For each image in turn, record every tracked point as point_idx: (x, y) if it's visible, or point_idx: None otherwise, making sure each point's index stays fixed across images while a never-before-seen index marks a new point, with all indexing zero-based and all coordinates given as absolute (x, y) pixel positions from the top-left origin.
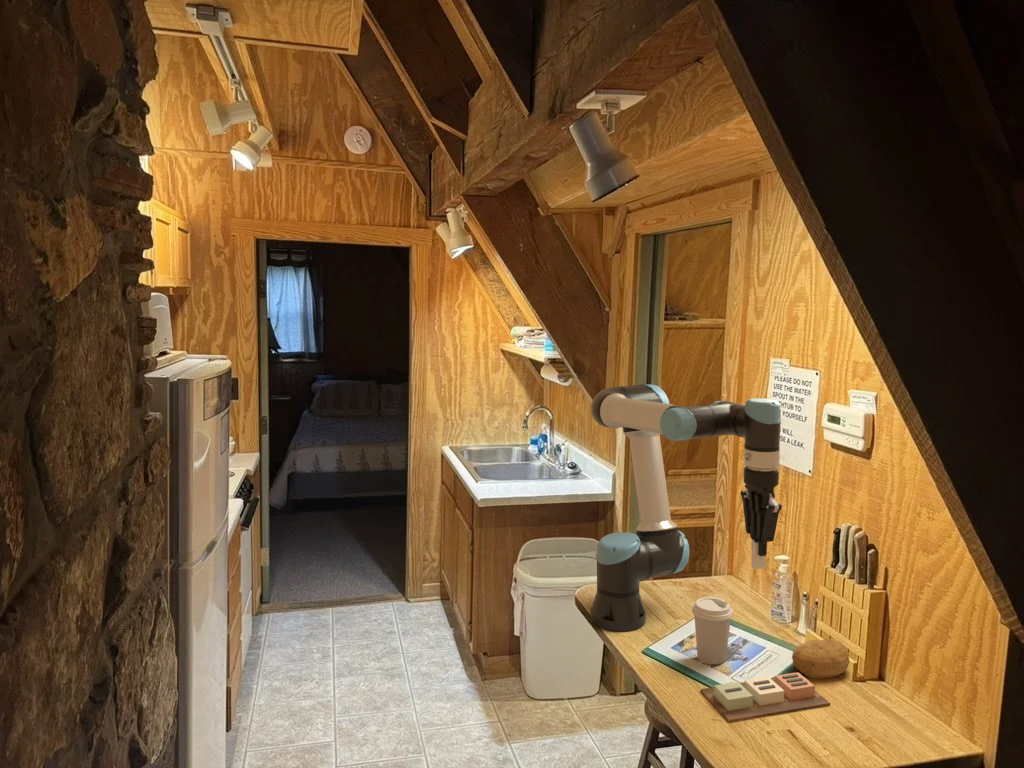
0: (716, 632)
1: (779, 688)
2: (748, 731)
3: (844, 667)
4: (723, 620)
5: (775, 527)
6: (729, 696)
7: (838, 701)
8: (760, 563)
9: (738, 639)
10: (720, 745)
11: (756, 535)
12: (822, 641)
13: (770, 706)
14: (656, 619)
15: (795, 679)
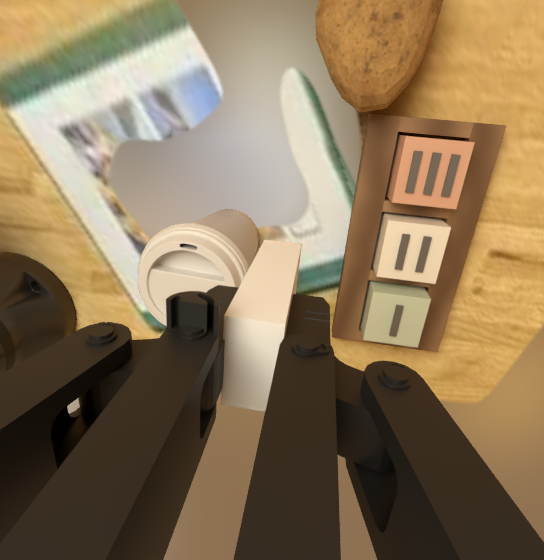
0: None
1: (438, 231)
2: (455, 318)
3: None
4: None
5: (539, 553)
6: (409, 339)
7: (478, 70)
8: (295, 289)
9: (151, 109)
10: (460, 377)
11: (210, 394)
12: None
13: (443, 259)
14: (30, 234)
15: (433, 172)
